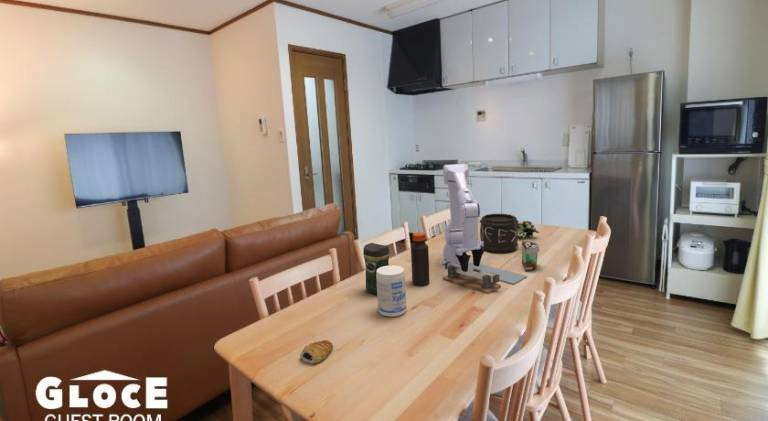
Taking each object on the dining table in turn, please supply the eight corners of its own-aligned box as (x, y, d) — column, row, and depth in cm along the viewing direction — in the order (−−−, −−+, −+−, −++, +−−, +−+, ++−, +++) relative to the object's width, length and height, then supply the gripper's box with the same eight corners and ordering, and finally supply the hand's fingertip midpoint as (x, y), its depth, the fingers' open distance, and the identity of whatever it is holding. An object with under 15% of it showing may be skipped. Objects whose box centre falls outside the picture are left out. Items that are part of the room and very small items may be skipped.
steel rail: (444, 268, 157) (444, 263, 157) (448, 267, 159) (448, 261, 158) (495, 283, 140) (495, 276, 140) (499, 281, 142) (499, 274, 141)
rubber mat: (457, 269, 166) (457, 268, 165) (471, 263, 172) (471, 261, 172) (513, 284, 147) (513, 283, 146) (527, 277, 153) (527, 275, 153)
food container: (541, 272, 157) (542, 249, 155) (525, 272, 158) (526, 249, 156) (536, 262, 168) (536, 240, 166) (521, 262, 170) (521, 240, 168)
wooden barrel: (478, 253, 184) (478, 221, 181) (480, 242, 201) (480, 213, 198) (518, 255, 179) (519, 222, 176) (517, 243, 196) (518, 213, 192)
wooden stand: (442, 279, 155) (442, 266, 154) (455, 274, 160) (455, 261, 159) (488, 294, 140) (488, 279, 139) (500, 287, 145) (500, 273, 144)
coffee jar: (395, 290, 148) (392, 243, 144) (381, 297, 142) (378, 249, 138) (376, 284, 154) (373, 239, 150) (362, 291, 148) (359, 245, 145)
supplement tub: (398, 320, 125) (396, 276, 122) (373, 314, 129) (370, 273, 126) (411, 307, 133) (409, 266, 130) (387, 302, 138) (384, 263, 135)
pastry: (321, 343, 114) (320, 332, 113) (339, 350, 110) (338, 337, 109) (298, 360, 106) (297, 347, 105) (316, 367, 103) (315, 354, 102)
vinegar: (409, 285, 152) (407, 235, 148) (416, 278, 158) (414, 231, 154) (425, 287, 149) (423, 237, 145) (432, 281, 155) (430, 232, 151)
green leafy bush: (527, 246, 208) (542, 229, 204) (522, 248, 199) (538, 230, 194) (510, 232, 212) (524, 215, 208) (505, 234, 203) (519, 216, 199)
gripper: (467, 240, 138) (467, 276, 141) (490, 231, 148) (490, 265, 151) (451, 237, 144) (452, 272, 146) (474, 229, 153) (475, 261, 156)
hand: (470, 268), depth 149 cm, fingers open, 7 cm apart
